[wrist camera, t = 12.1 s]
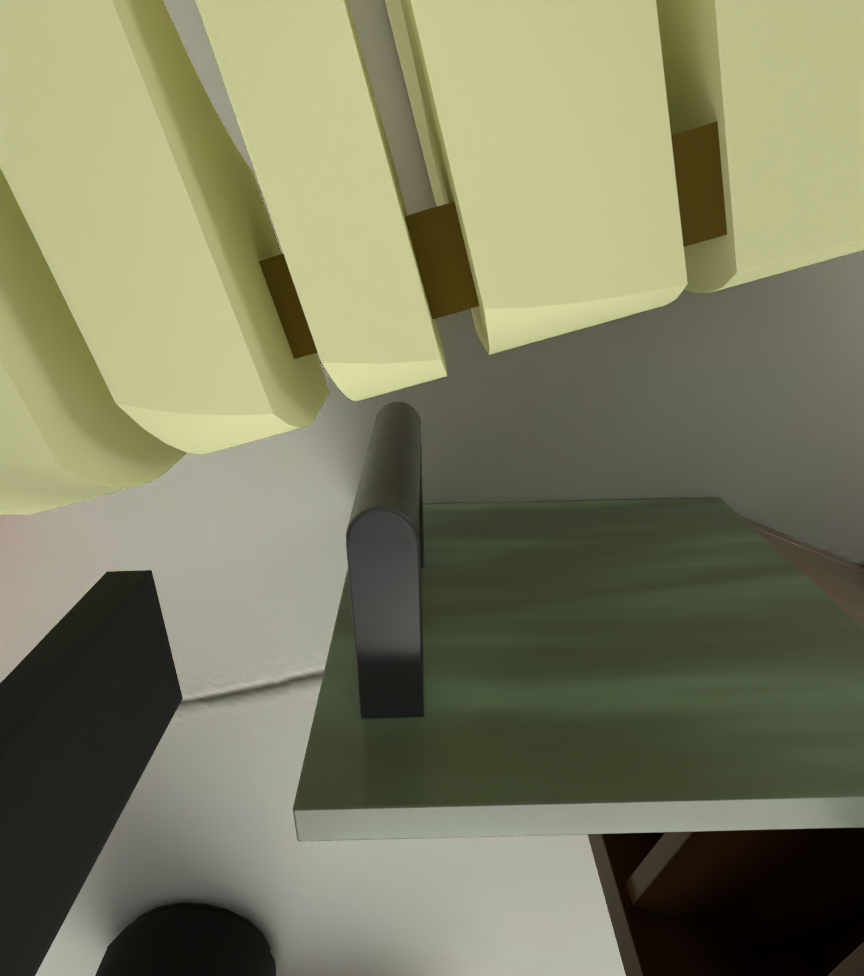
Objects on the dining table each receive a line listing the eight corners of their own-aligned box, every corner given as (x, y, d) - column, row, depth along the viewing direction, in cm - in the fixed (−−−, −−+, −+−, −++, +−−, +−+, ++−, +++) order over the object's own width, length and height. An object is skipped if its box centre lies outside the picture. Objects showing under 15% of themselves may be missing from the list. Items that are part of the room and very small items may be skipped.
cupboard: (566, 757, 34) (677, 1169, 19) (729, 511, 28) (1070, 823, 13) (736, 812, 35) (960, 1228, 21) (922, 591, 30) (1412, 944, 15)
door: (352, 376, 25) (256, 570, 11) (741, 367, 25) (1165, 549, 11) (363, 525, 28) (297, 842, 13) (715, 517, 28) (1029, 824, 13)
